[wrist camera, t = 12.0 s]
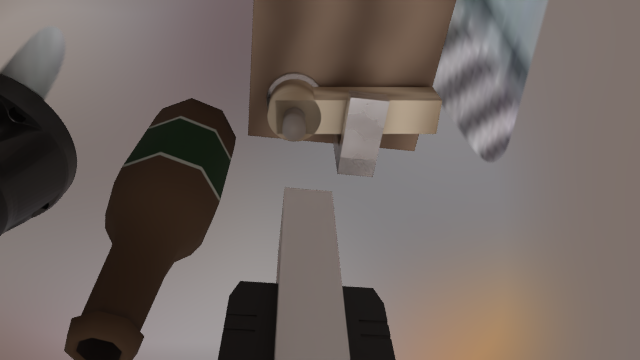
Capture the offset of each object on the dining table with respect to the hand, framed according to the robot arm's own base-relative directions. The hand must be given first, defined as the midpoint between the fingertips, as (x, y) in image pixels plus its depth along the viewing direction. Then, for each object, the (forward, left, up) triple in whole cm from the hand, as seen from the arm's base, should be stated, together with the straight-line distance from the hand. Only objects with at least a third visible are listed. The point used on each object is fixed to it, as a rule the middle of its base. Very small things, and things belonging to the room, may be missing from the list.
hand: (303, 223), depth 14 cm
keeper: (+2, -6, -25) cm, 26 cm away
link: (+5, -5, -24) cm, 25 cm away
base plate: (+4, 0, -26) cm, 27 cm away
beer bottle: (-9, -11, -27) cm, 30 cm away
